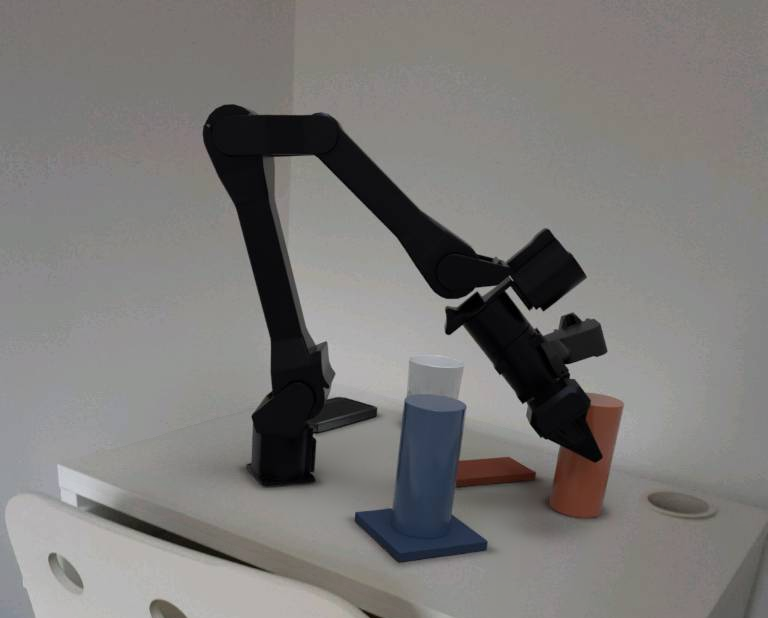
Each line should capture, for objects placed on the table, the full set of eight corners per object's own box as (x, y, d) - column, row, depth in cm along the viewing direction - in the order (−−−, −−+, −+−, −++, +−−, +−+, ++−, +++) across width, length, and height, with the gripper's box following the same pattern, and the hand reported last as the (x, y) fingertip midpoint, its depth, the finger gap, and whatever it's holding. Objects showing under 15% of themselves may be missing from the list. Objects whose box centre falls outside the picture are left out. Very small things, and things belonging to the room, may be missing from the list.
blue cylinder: (408, 541, 79) (423, 412, 74) (380, 517, 83) (393, 394, 79) (460, 535, 81) (478, 410, 77) (430, 511, 86) (446, 393, 81)
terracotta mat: (454, 487, 97) (455, 479, 96) (429, 470, 102) (430, 462, 101) (535, 479, 102) (536, 472, 102) (508, 463, 107) (509, 456, 107)
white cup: (456, 438, 115) (466, 369, 111) (401, 433, 115) (409, 363, 111) (453, 423, 122) (462, 357, 119) (401, 417, 122) (408, 352, 119)
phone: (380, 407, 122) (315, 425, 110) (379, 415, 122) (314, 433, 111) (339, 396, 126) (272, 411, 114) (339, 403, 126) (272, 419, 115)
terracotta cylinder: (571, 520, 91) (593, 408, 86) (538, 500, 95) (558, 393, 91) (612, 515, 93) (635, 406, 88) (578, 496, 98) (599, 391, 93)
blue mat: (398, 562, 76) (399, 552, 76) (354, 520, 85) (355, 511, 84) (486, 550, 81) (488, 541, 81) (436, 511, 89) (437, 503, 89)
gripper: (586, 303, 77) (676, 427, 81) (556, 280, 94) (632, 383, 98) (491, 377, 80) (583, 492, 84) (479, 341, 97) (556, 438, 101)
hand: (591, 446), depth 92 cm, fingers open, 9 cm apart
